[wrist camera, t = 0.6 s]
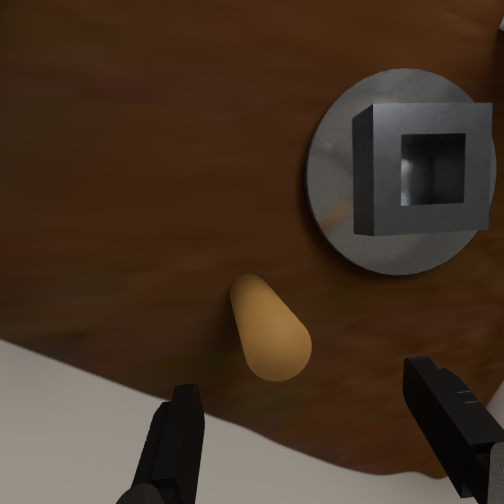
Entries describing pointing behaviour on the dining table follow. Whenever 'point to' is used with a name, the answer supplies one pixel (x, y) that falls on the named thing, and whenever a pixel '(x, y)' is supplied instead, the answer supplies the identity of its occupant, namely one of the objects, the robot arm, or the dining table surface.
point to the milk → (502, 25)
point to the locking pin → (268, 330)
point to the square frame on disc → (401, 171)
